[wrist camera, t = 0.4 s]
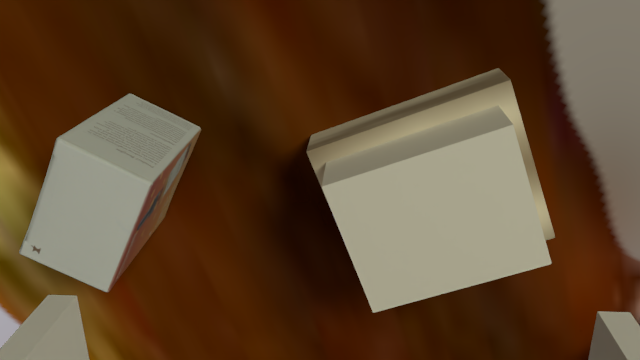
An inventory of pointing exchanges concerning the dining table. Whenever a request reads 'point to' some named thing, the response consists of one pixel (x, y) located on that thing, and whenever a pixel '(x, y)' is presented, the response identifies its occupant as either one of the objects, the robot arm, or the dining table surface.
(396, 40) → the dining table surface
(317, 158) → the tower base slab
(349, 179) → the tower top slab
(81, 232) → the small box
